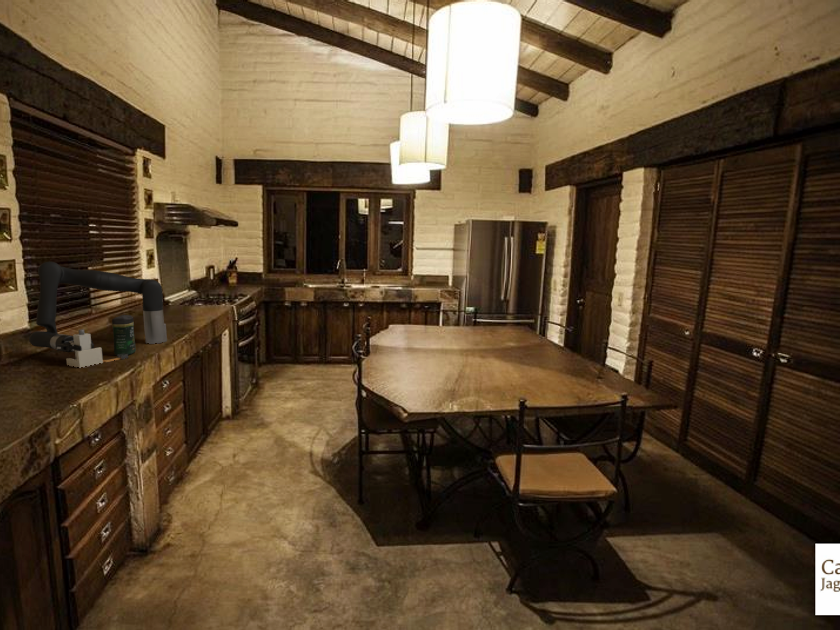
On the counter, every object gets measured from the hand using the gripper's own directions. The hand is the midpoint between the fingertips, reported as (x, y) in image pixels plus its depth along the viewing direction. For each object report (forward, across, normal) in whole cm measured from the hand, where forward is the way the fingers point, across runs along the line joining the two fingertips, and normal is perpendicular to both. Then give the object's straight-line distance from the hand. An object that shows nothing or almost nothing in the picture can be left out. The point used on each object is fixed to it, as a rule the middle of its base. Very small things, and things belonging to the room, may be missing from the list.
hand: (86, 347), depth 207 cm
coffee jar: (-6, +20, +8) cm, 22 cm away
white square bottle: (-3, 0, +7) cm, 7 cm away
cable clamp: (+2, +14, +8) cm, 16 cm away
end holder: (-3, 0, +8) cm, 8 cm away
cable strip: (0, +8, +8) cm, 11 cm away
